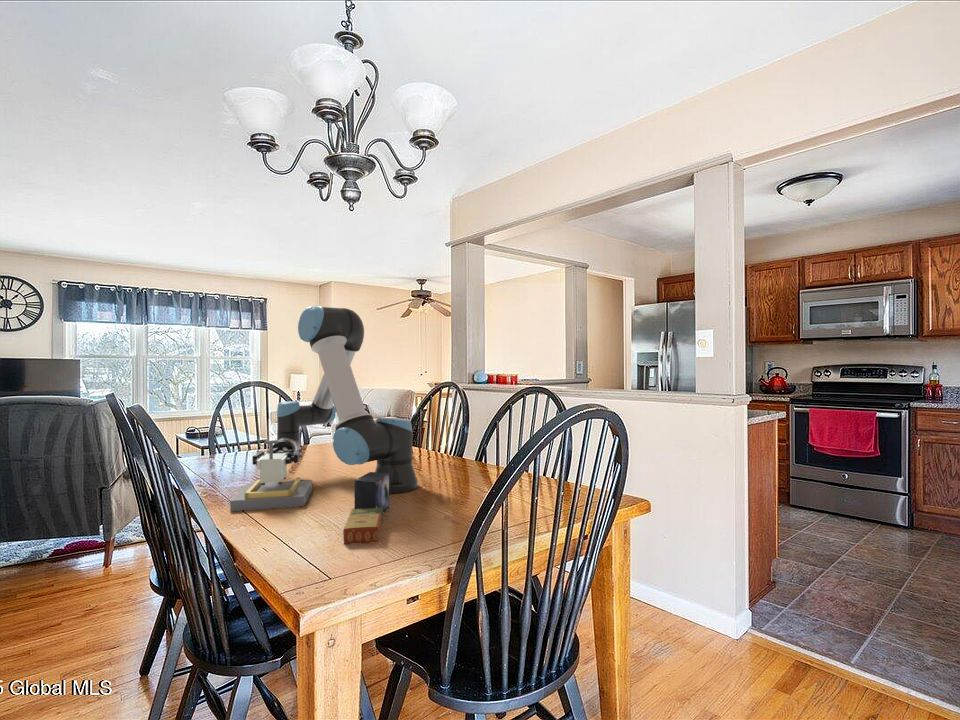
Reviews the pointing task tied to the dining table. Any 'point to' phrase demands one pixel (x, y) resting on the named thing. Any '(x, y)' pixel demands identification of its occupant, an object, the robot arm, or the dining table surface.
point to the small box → (372, 491)
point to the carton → (363, 526)
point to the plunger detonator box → (272, 466)
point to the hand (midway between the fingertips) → (270, 464)
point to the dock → (272, 495)
